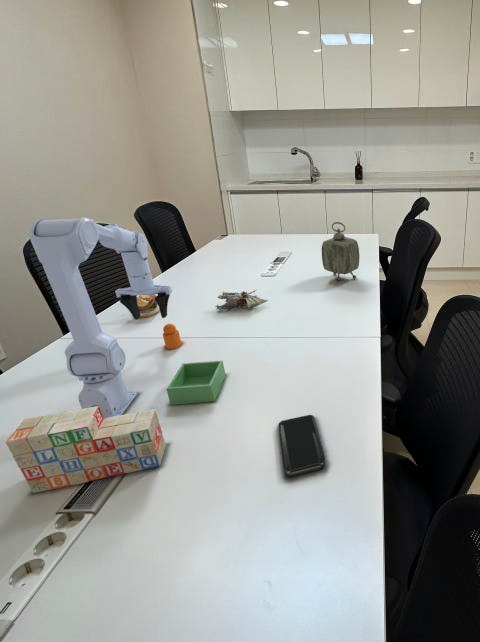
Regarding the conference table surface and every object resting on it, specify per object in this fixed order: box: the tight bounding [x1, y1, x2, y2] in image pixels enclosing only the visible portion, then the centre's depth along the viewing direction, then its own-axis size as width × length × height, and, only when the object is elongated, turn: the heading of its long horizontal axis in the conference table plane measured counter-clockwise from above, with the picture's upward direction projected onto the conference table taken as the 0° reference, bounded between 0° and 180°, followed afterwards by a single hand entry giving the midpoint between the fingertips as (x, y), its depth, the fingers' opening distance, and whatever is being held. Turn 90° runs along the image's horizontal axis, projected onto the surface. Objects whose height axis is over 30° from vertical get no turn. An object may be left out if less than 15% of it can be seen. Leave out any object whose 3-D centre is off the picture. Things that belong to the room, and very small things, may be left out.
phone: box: [278, 414, 327, 478], centre depth 79 cm, size 8×1×15 cm
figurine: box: [214, 288, 269, 311], centre depth 143 cm, size 20×6×17 cm
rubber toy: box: [162, 323, 183, 350], centre depth 118 cm, size 4×4×7 cm
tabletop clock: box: [321, 221, 360, 281], centre depth 165 cm, size 14×9×25 cm, turn 58°
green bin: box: [166, 360, 227, 406], centre depth 97 cm, size 11×10×5 cm
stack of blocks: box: [5, 406, 167, 494], centre depth 73 cm, size 21×6×12 cm, turn 105°
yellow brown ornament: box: [137, 294, 160, 319], centre depth 140 cm, size 12×10×8 cm
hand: (151, 317), depth 114 cm, fingers open, 7 cm apart
